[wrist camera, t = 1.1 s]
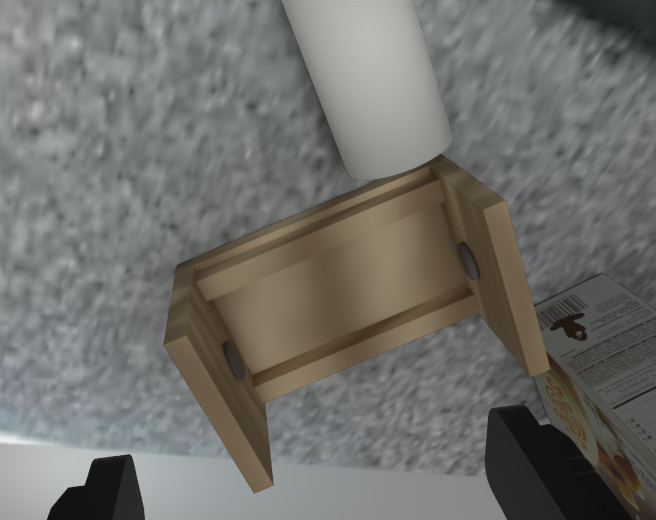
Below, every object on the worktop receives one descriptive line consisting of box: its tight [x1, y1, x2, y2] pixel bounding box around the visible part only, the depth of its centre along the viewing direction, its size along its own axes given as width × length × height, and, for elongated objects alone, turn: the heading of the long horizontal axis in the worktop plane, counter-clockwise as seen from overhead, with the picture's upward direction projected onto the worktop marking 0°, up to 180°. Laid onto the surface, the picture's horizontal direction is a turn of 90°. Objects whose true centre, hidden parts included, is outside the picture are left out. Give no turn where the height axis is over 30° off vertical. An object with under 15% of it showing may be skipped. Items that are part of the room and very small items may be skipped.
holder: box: [163, 154, 550, 493], centre depth 30 cm, size 15×9×8 cm, turn 112°
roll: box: [281, 0, 453, 180], centre depth 27 cm, size 10×5×5 cm, turn 21°
